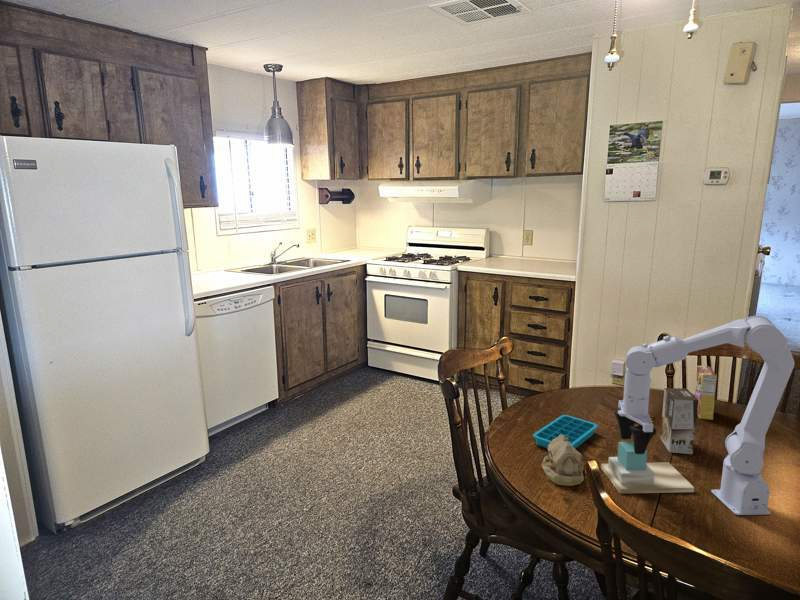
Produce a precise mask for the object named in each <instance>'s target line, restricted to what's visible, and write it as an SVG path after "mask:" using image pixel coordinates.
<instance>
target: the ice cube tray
mask: <svg viewBox="0 0 800 600" xmlns="http://www.w3.org/2000/svg"><path fill="white" fill-rule="evenodd" d="M598 428H599V424H597V423H594V422H591V421H588V420H584V419H581V418H577V417H575V416H571V415H569V414H561V415H560V416H559V417H557V418H555V419H554V420H552V421H551V422H549V423H548V424H547V425H545V426H543V427H542V428H541V429H539V430H538V431H536V432H534V433H533V434H532V437H533V438H534V439H535V443H536V445H537V446H540V447H541V448H545V449H548V445H549V444H550V442H551V441H552V440H553V439H555V438H557V437H558V436H559V435H564V436H567V437H568V441H569V442H570V443H571V445H572V446H573V447H574V448H575V449H577V448H578V447H580V445H582V444H583V443H584V442H586V441H587V440H588V439H590V438H591V437H592V436H593V435H594V433H595V430H596V429H598Z"/></svg>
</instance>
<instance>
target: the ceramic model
mask: <svg viewBox="0 0 800 600" xmlns="http://www.w3.org/2000/svg"><path fill="white" fill-rule="evenodd" d="M547 451H548V454H547V455H545V456H544V457H543V459H542V463H541V468H542V470H543V471H544V473H545V475H546V476H547V477H548V479H549V480H550V481H551V482H552V483H554V484H555V485H557V486H558V485H559V486H571V487H572V486H576V485H580V484H582V483H583V482H584V479H585V477H584V473H583V472H584V470H585V469H584V463H583V462H582V459H583V454H582V453H581V452H579V451H578V450H577V448H574V447H573V446H572V445H571V443H570V442H569V441H568V437H567V436H564V435H559V436H558V437H557V438H555V439H553V440H552V441H551V442H550V444H549V445H548V448H547Z"/></svg>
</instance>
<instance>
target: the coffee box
mask: <svg viewBox="0 0 800 600" xmlns="http://www.w3.org/2000/svg"><path fill="white" fill-rule="evenodd" d="M662 401H663V402H662V413H661V425H660V426H661V427H660V428H661V429H660V438H659V439H660V440H661V442H662V443H663V445H664V446H665V448H666V449H667V451H668V453H674V454H683V455H684V454H685V455H693V453H694V448H695V447H694V444H695V438H696V435H695V434H696V427H697V425H696V424H697V418H698V415H697V410H698V401H699V400H698V399H697V398H696V397H695V394H693V393H692V392H691V391H690V390H689V389H688V388H680V387H679V388H675V387H673V388H672V387H671V388H667V387H664V389H663V399H662Z"/></svg>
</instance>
